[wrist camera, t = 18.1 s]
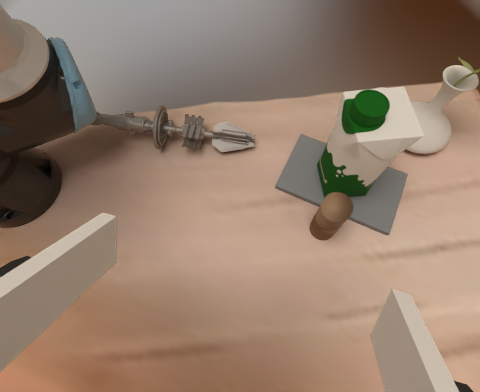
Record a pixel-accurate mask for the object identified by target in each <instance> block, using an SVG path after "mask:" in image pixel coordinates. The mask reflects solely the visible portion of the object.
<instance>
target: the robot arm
mask: <svg viewBox="0 0 480 392" xmlns="http://www.w3.org/2000/svg"><path fill="white" fill-rule="evenodd" d="M95 119H96V110H95V107H94V104H93V102H92V99H91V97H90V95H89V92H88V90H87V88H86V85H85V83H84V81H83V79H82V76H81V74H80V72H79V70H78V67H77V66H76V63H75V61H74V59H73V57H72V55H71V53H70V51H69V49H68V47H67V45H66V43H65V42H64V41H63V39H61V38H52V37H51V38H48V40H46V39H45V38H44V36H43V35H42V34H41V33H40V32H39V31H38V30H37V29H36V28H35V27H33V26H32V25H30V24H29V23H26V22H24V21H21V20H17V19H12V18H11V17H10V16H9V14H8V13H7V12H6V11H5V10H4V8H3V7H2V6H1V5H0V227H15V226H20V225H23V224H26V223H28V222H30V221H32V220H34V219H35V218H37V217H38V216H40V215H41V214H42V213H44V212H45V211H46V210H47V209H48V208H49V207H50V205H51V204H52V203H53V202H54V200H55V198H56V197H57V195H58V192H59V190H60V186H61V171H60V168H59V166H58V164H57V163H56V162H55V161H54V160H53V159H52V158H51V157H50V156H49V155H47V154H46V153H45V152H43V151H41V150H39V149H37V148H34V147H36V146H39V145H41V144H44V143H47V142H49V141H52V140H55V139H57V138H60V137H63V136H65V135H68V134H71V133H75V132H77V131H78V130H79V129H81V128H83V127H85V126H87V125H90V124H92V123H93V122H94V121H95ZM116 246H117V216H114V215H111V214H107V213H101V214H99V215H98V216H96V217H95V218H93V219H92V220H90V221H88V222H87V223H85V224H84V225H82V226H81V227H79V228H77V229H76V230H74V231H73V232H71V233H70V234H68V235H66V236H65V237H63V238H62V239H60V240H59V241H57V242H55V243H54V244H52V245H51V246H49V247H48V248H46V249H44V250H43V251H41V252H40V253H38V254H37V255H35V256H33V257H29V256H25V257H23V258H20V259H17V260H14V261H11V262H9V263H8V264H6V265H4V266H3V267H1V268H0V372H1V371H2V370H3V369H4V368H5V367H6V366H7V365H8V364H9V363H10V362H12V361H13V360H14V359H15V358H16V357H17V356H18V355H19V354H20V353H21V352H22V351H23V350H24V349H25V348H26V347H27V346H28V345H29V344H31V343H32V342H33V341H34V340H35V339H36V338H37V337H38V336H39V335H40V334H41V333H42V332H43V331H44V330H45V329H46V328H47V327H49V326H50V325H51V324H52V323H53V322H54V321H55V320H56V319H57V318H58V317H59V316H60V315H61V314H62V313H63V312H64V311H65V310H67V309H68V308H69V307H70V306H71V305H72V304H73V303H74V302H75V301H76V300H77V299H78V298H79V297H80V296H81V295H82V294H83V293H84V292H86V291H87V290H88V289H89V288H90V287H91V286H92V285H93V284H94V283H95V282H96V281H97V280H98V279H99V278H100V277H101V276H102V275H104V274H105V273H106V272H107V271H108V270H109V269H110V268H111V267H112V266H113V265H114V264H115V263H116ZM371 339H372V343H373V346H374V350H375V354H376V358H377V362H378V366H379V369H380V373H381V377H382V381H383V385H384V389H385V392H473V391H472V390H471V389H470V387H469V386H468V385H466V384H463V383H460V382H456V381H454V380H453V378H452V376H451V374H450V372H449V370H448V368H447V366H446V364H445V362H444V360H443V358H442V356H441V354H440V352H439V350H438V348H437V346H436V344H435V342H434V340H433V338H432V336H431V334H430V332H429V330H428V328H427V326H426V324H425V322H424V320H423V318H422V316H421V314H420V312H419V310H418V308H417V306H416V304H415V302H414V300H413V298H412V296H411V294H410V293H406V292H402V291H398V290H394V289H392V290H391V292H390V294H389V296H388V298H387V301H386V303H385V305H384V307H383V309H382V311H381V314H380V316H379V318H378V320H377V322H376V324H375V326H374V329H373V331H372V333H371Z"/></svg>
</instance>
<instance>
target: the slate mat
mask: <svg viewBox="0 0 480 392" xmlns="http://www.w3.org/2000/svg"><path fill="white" fill-rule="evenodd" d="M326 145H327V144H326V143H324V142H321V141H318V140H316V139H313V138H310V137H308V136H305V135H302V134H301V135H300V137H299V139H298V141H297V143H296V145H295V147H294V149H293V151H292V153H291V155H290V157H289V160H288V162H287V164H286V166H285V168H284V170H283V172H282V174H281V176H280V178H279V180H278V182H277V184H276V187H275V188H276V189H279V190H281V191H283V192H286V193H288V194H290V195H293V196H295V197H297V198H300V199H302V200H305V201H307V202H309V203H312V204H314V205H316V206H319V207H320V206H321V204H322V202H323V200H324V195H323V190H322V186H321V181H320V177H319V172H318V168H317V163H318V161H319V159H320V158H321V156H322V154H323V152H324V149H325V147H326ZM407 175H408V174H406V173H403V172H401V171H398V170H395V169H393V168H390V167H388V166H387V168H386V169H385V170H384V171H383V172H382V173H381V175H380V176H379V177H378V178H377V179H376V180H375V182H374V183H373V185H372V186H371V188H370V190H369V191H368V193H367V194H366V196H357V197H349V198H350V199H351V200H352V202H353V207H354V208H353V212H352V214H351V216H350V217H349V218H348V219H349V220H352V221H354V222H357V223H359V224H361V225H364V226H366V227H368V228H371V229H373V230H375V231H378V232H380V233H383V234H385V235H388V234H390V231H391V227H392V224H393V221H394V218H395V214H396V211H397V208H398V204H399V201H400V198H401V195H402V191H403V188H404V185H405V182H406V178H407Z"/></svg>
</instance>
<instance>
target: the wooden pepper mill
mask: <svg viewBox="0 0 480 392" xmlns="http://www.w3.org/2000/svg"><path fill="white" fill-rule="evenodd" d="M353 208H354V207H353V202H352V200H351V199H350V198H349V197H348V196H347V195H345V194H343V193H340V192H333V193H330V194H328V195H327V196H326V197H325V198H324V200H323V202H322V204H321V206H320V207H319V209H318V211H317V213H316V215H315V216H314V218H313V220H312V222H311V224H310V231H311V234H312V235H313V236H314V237H315V238H317V239H319V240H327V239H329V238H330V237H332V235H333V234H334V233H335V232H336V231H337V230H338V229H339V228H340V227H341V226H342V224H343V223H344V222H345V221H346V220H347V219H348V218H349V217H350V216H351V214H352V212H353Z"/></svg>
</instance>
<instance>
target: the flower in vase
mask: <svg viewBox="0 0 480 392" xmlns="http://www.w3.org/2000/svg"><path fill="white" fill-rule="evenodd" d="M458 59H459V60H460V61H461V62H462V64H463V65H464V66H465V67H464V66H459V65H453V66H450V67H448V68H446V69H445V70H444V72H443V84H442V87H441V89H440V90H439V92H438V94H437V95H436V96H435V98H434V99H433V100H432V101H431V102H430V103H425V102H411V104H412V107H413V109H414V112H415V114H416V117H417V119H418V121H419V124H420V126H421V129H422V131H423V134H424V137H422V138H421V139H419V140H418V141H417V142H415V143H414V144H412V145H411V146H410V147H408V148H407V149H406V150H408V151H410V152H414V153H419V154H429V153H434V152H438V151H440V150H441V149H443V148H444V147H445V146H446V145H447V144H448V142H449V140H450V137H451V133H452V129H451V124H450V122H449V120H448V118H447V116H446V115H445V114H444V113H443V109H444V108H445V106H446V105H447V104H448V103H449V102H450V101H451V100H452V99H454V98H455V97H456V96H458V95H459V94H461V93H463V92H465V91H470V90H473V89H475V88H476V87H477V86H478V83H479V79H478V76H477V75H476V74H475V73H477V72H479V71H480V69H478V70H476V71H474V70H473V68H472V67H471V66H470V65H469V64H468V63H466V62H465V61H463V60H461V59H460V57H458Z"/></svg>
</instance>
